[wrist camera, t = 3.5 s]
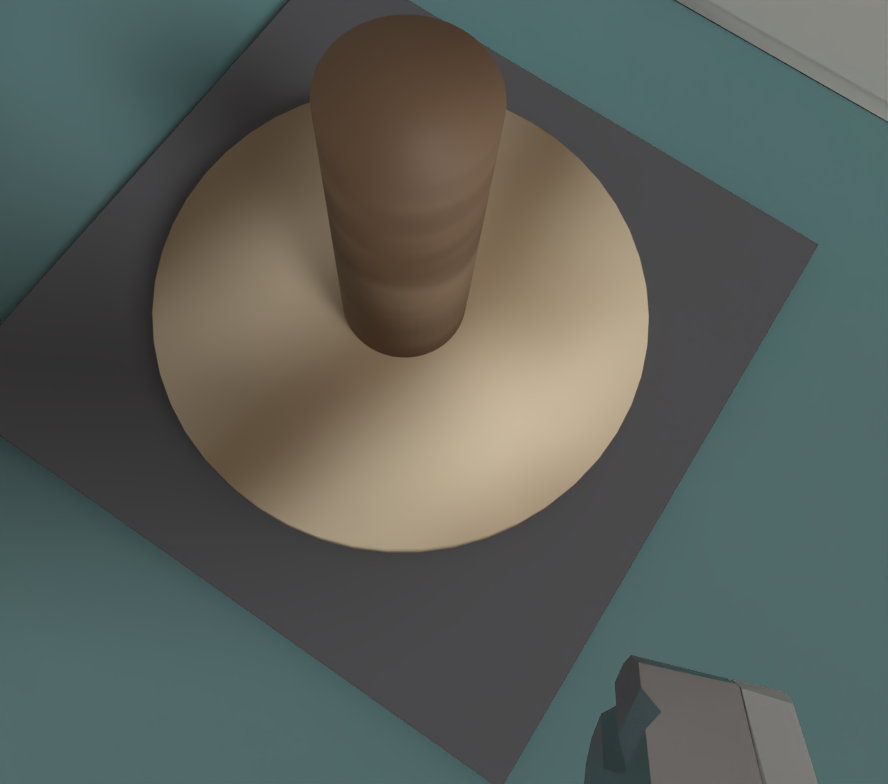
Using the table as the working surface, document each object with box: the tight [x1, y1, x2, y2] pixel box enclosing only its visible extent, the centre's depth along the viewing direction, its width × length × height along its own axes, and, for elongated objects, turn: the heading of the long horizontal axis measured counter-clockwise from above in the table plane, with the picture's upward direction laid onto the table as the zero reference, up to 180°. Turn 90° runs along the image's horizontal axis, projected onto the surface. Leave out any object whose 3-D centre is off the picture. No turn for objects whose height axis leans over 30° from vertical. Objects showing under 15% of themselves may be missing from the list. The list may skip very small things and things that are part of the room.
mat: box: [0, 0, 818, 784], centre depth 22 cm, size 16×16×1 cm
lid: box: [152, 14, 649, 553], centre depth 17 cm, size 12×12×9 cm
